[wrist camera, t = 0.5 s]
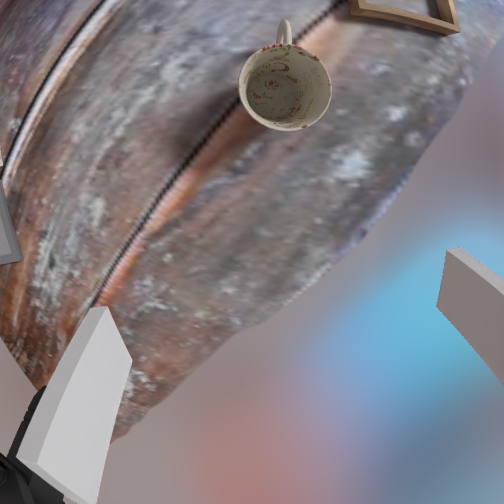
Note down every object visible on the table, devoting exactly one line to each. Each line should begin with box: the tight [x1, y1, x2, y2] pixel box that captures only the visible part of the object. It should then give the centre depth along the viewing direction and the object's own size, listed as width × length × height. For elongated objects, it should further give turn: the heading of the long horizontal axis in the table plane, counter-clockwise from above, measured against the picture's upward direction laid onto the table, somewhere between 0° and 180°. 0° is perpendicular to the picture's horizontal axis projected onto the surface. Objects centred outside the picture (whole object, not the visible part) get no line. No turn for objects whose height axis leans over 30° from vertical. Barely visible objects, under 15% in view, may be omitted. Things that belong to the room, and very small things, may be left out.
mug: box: [238, 20, 332, 131], centre depth 27 cm, size 8×13×10 cm, turn 178°
